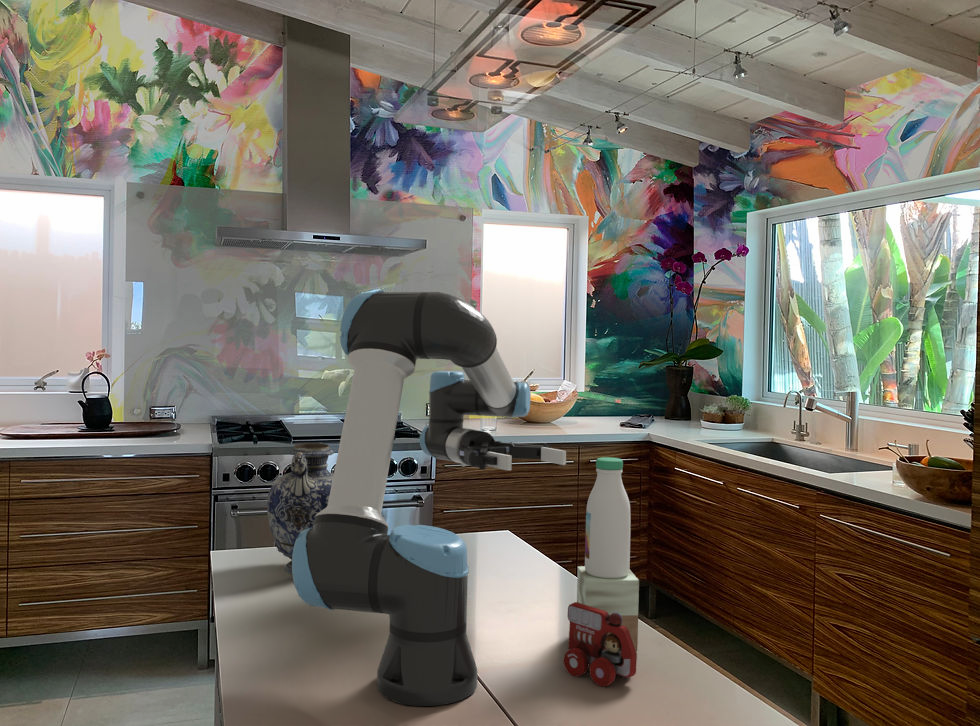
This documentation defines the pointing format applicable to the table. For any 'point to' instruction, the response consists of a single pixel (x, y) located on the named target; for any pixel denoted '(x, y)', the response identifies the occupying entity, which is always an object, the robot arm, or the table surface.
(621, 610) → the tower stack
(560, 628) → the table surface
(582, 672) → the toy fire truck
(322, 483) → the decorative vase
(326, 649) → the table surface
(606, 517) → the milk bottle
